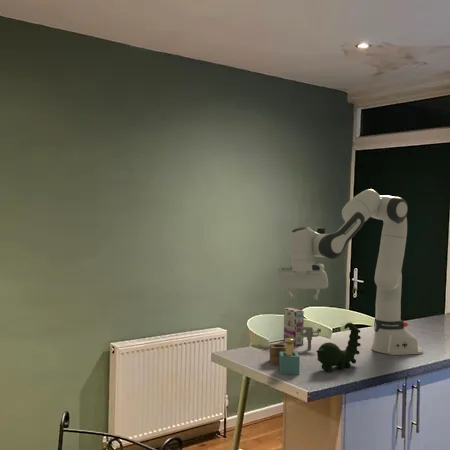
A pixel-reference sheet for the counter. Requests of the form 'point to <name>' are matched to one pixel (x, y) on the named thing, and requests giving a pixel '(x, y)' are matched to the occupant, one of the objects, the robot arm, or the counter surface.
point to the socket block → (289, 363)
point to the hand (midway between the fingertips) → (304, 299)
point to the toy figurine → (339, 351)
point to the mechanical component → (308, 334)
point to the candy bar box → (293, 324)
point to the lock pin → (289, 346)
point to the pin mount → (276, 352)
